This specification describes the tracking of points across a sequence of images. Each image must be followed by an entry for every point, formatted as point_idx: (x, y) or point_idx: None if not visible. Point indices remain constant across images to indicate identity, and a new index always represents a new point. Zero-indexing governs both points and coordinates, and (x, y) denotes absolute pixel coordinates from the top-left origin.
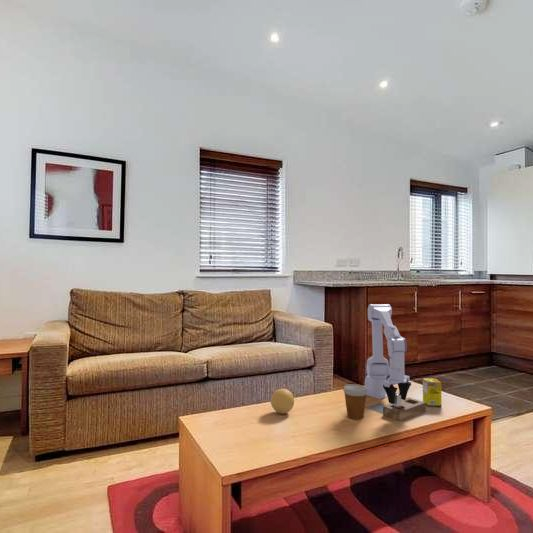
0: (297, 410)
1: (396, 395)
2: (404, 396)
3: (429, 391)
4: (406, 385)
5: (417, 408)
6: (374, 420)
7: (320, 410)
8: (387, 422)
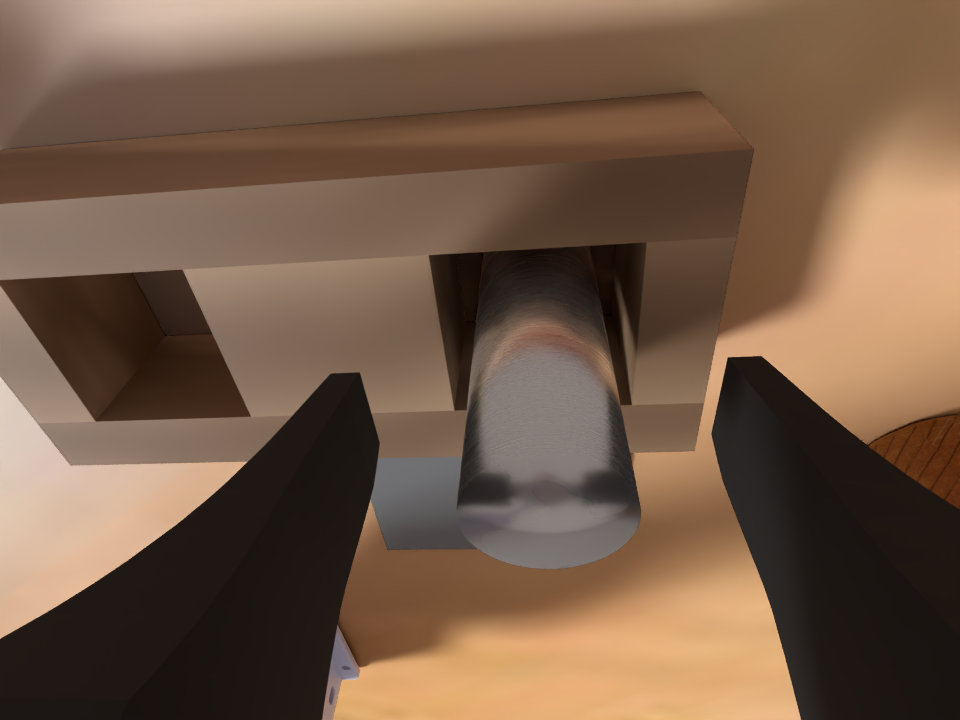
0: None
1: (630, 494)
2: (338, 428)
3: None
4: (198, 686)
5: (169, 170)
6: (894, 326)
7: None
8: (851, 194)
